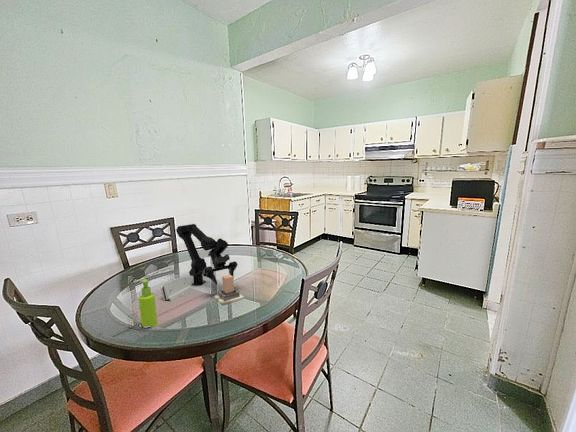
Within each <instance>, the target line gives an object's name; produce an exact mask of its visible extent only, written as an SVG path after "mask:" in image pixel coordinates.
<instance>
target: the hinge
mask: <svg viewBox="0 0 576 432" xmlns="http://www.w3.org/2000/svg"><path fill="white" fill-rule="evenodd" d="M160 290H161V295H162V299H163V301H166V300H168V301H170V302H173V301H175V300H176V299H178V298H180V297H181V296H183V295H185V294H187V293H189V292H191V291H192V290H193V289H192V286H190V285H189V283H188V281H187V279H186V278H185V277H182V276H181V277H176V278H173V279H171V280H169V281H168V282H166V283H165V284H164V285H162V286H161V287H160Z"/></svg>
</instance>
